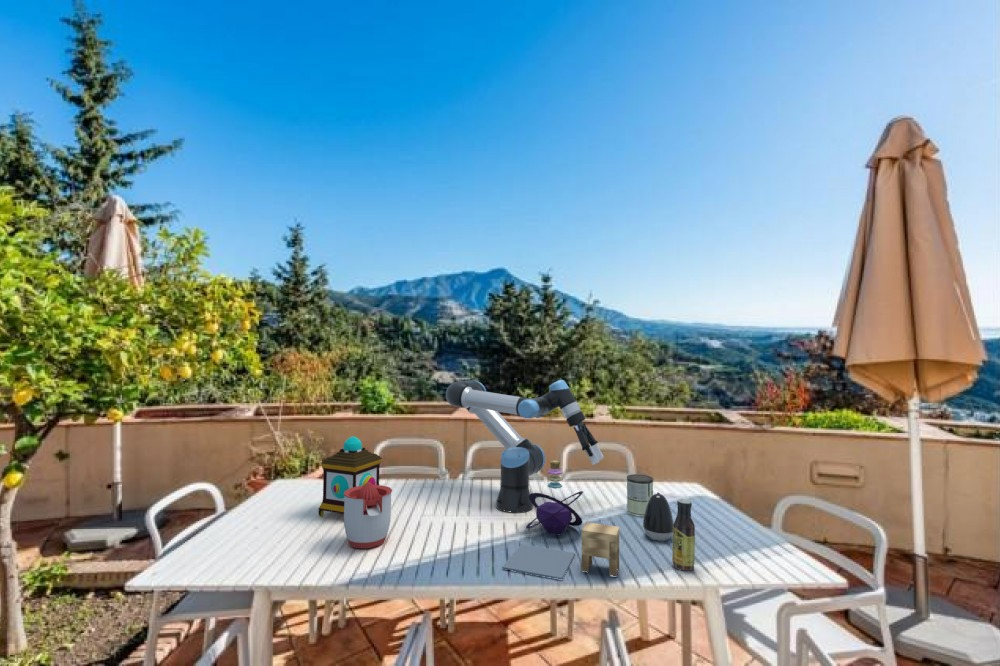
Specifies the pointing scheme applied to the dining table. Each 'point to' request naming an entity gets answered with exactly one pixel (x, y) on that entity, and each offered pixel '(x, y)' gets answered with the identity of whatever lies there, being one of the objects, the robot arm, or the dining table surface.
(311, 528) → the dining table surface
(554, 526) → the ringed planet sculpture
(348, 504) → the citrus juicer
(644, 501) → the coffee can
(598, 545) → the notched wooden block
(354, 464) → the decorative lantern
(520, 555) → the slate mat
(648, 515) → the black egg shape
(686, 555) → the sauce bottle
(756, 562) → the dining table surface
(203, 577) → the dining table surface
